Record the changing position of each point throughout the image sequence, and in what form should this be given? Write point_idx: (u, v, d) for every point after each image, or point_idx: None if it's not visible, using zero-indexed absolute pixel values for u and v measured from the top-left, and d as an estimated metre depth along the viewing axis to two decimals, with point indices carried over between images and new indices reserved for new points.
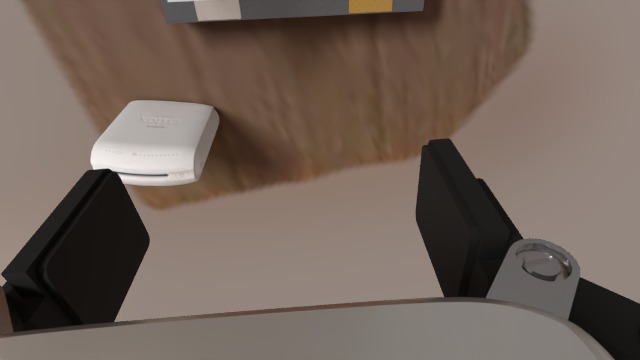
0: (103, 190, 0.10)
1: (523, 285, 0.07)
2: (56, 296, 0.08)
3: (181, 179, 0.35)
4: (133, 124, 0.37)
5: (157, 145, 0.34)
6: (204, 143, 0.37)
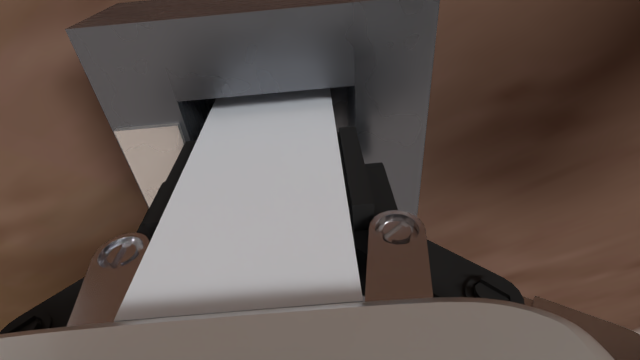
0: None
1: (390, 255, 0.07)
2: None
3: None
4: None
5: None
6: None
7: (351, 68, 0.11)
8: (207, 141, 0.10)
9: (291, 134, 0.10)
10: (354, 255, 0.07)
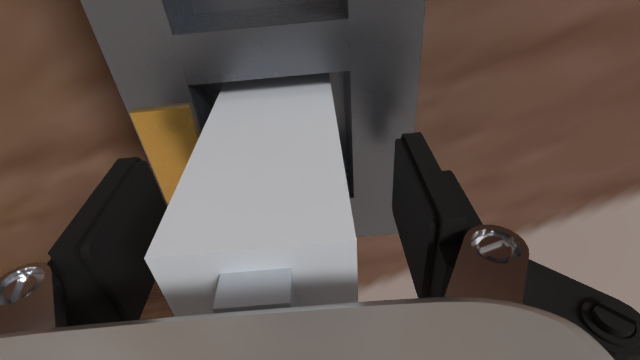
0: (135, 177, 0.10)
1: (480, 270, 0.07)
2: (97, 276, 0.08)
3: None
4: None
5: None
6: None
7: None
8: (217, 119, 0.11)
9: (294, 113, 0.11)
10: (349, 207, 0.08)
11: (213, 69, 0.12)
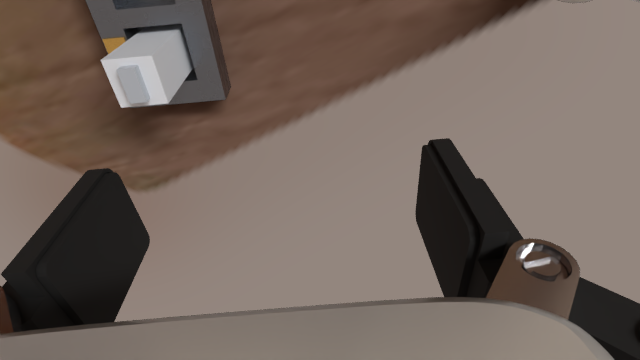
0: (103, 190, 0.10)
1: (523, 285, 0.07)
2: (56, 296, 0.08)
3: None
4: None
5: None
6: None
7: None
8: (132, 39, 0.33)
9: (158, 37, 0.33)
10: (155, 51, 0.29)
11: (131, 22, 0.33)
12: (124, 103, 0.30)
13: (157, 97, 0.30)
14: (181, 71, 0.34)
